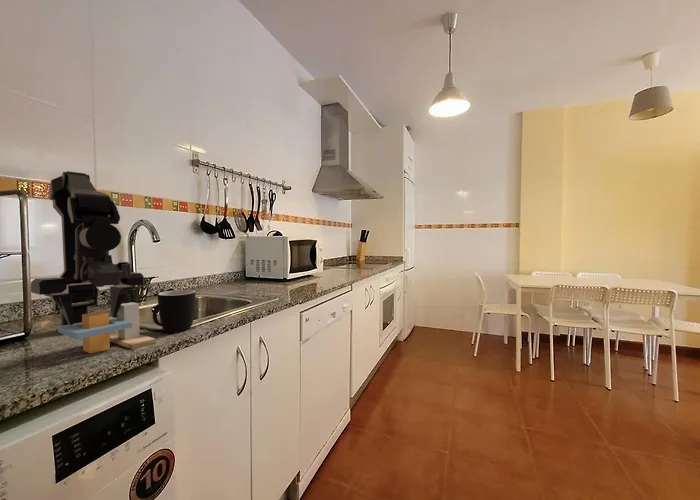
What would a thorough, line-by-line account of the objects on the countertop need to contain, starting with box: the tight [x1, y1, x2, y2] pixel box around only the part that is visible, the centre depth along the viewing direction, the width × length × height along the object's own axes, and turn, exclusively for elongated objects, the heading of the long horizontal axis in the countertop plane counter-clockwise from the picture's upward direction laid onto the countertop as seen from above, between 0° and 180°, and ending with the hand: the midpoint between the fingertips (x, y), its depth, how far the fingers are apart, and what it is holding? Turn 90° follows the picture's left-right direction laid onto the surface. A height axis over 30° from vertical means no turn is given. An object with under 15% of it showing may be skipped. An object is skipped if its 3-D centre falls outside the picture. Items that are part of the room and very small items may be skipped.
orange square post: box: [82, 311, 111, 354], centre depth 70 cm, size 4×4×8 cm
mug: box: [152, 289, 196, 333], centre depth 84 cm, size 12×9×10 cm
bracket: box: [57, 302, 141, 340], centre depth 71 cm, size 10×13×8 cm
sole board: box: [109, 331, 157, 350], centre depth 76 cm, size 14×5×1 cm, turn 59°
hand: (93, 320), depth 70 cm, fingers open, 7 cm apart
